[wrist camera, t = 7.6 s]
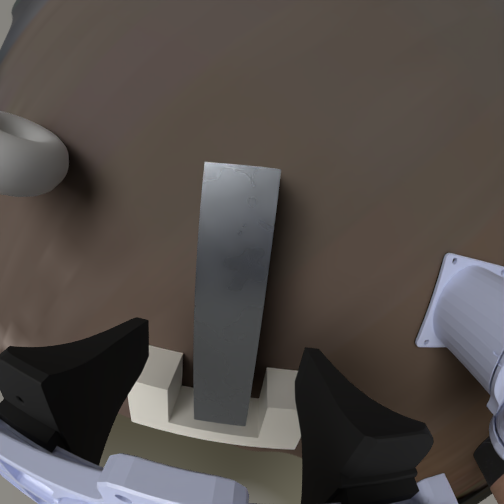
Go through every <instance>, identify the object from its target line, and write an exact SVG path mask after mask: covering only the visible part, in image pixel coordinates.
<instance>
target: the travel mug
mask: <svg viewBox="0 0 504 504" xmlns="http://www.w3.org/2000/svg"><path fill="white" fill-rule="evenodd" d="M474 458H475V460H476V462H477V464H478V466H479V468H480V470H481V471H482V473H483V475H484V477H485V479H486V481H487V483H488V485H489V487H490V489H491V491H492V493H493V495H494V497H495V498H496V500H497V502H498V504H504V460H503V459H502V458H501V457H500V456H499V455H498V454H497V452H496V451H495V449H494V447H493V445H492V442H491V439H490V436H489V437H488V438H487V439H486V440H485V441H484V442H483V443H482V444H481V445H480V446H479V447H478V448H477V449H476V451H475V453H474Z"/></svg>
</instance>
